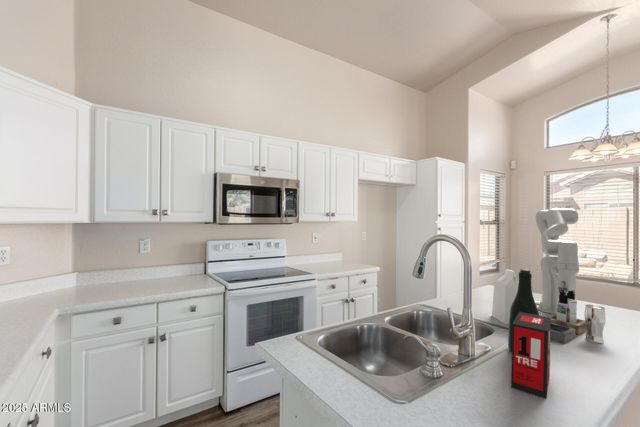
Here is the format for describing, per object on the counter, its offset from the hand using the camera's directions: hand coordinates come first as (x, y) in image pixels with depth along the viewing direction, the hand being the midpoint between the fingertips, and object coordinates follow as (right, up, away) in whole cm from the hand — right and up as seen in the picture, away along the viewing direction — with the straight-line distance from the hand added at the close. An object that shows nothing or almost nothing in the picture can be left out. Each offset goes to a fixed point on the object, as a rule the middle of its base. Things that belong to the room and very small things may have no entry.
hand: (567, 302), depth 149 cm
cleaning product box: (-52, -12, -50) cm, 73 cm away
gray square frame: (-14, -13, -9) cm, 21 cm away
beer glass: (+1, -13, -14) cm, 19 cm away
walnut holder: (0, -13, 0) cm, 13 cm away
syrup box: (0, -13, 0) cm, 13 cm away
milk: (-21, -13, +12) cm, 27 cm away
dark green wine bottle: (-40, -12, -28) cm, 50 cm away
